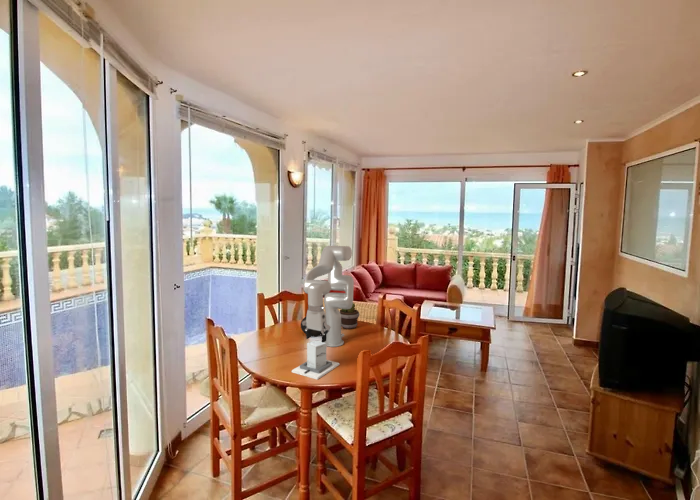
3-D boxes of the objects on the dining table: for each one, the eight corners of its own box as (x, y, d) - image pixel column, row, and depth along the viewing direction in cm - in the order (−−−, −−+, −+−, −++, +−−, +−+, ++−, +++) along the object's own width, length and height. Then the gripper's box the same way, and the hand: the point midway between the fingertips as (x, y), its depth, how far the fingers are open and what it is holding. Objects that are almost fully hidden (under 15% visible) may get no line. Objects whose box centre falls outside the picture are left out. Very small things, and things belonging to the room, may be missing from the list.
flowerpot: (334, 325, 267) (334, 297, 265) (354, 322, 274) (354, 295, 271) (343, 331, 254) (343, 302, 252) (363, 328, 260) (363, 300, 258)
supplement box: (315, 370, 191) (315, 346, 190) (306, 366, 197) (306, 342, 195) (326, 366, 196) (326, 343, 195) (318, 362, 202) (317, 339, 200)
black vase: (295, 333, 250) (295, 292, 247) (317, 328, 262) (317, 288, 259) (311, 340, 237) (311, 297, 234) (333, 334, 249) (333, 292, 245)
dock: (314, 358, 209) (314, 354, 209) (339, 364, 201) (339, 360, 201) (291, 372, 192) (291, 367, 192) (317, 379, 184) (317, 374, 184)
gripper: (333, 308, 192) (334, 340, 194) (306, 303, 200) (307, 334, 203) (325, 312, 185) (326, 345, 188) (297, 307, 194) (298, 339, 196)
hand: (316, 339), depth 195 cm, fingers open, 9 cm apart
